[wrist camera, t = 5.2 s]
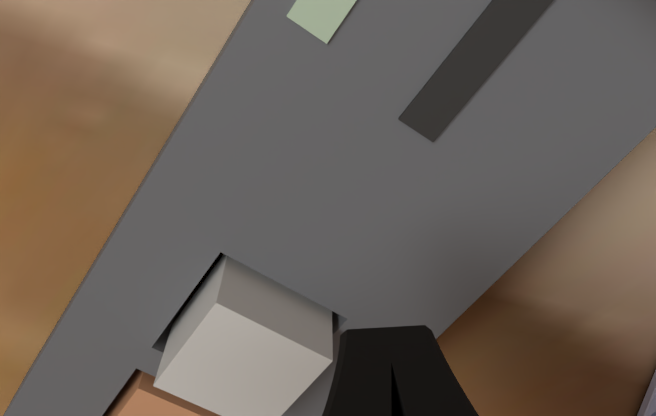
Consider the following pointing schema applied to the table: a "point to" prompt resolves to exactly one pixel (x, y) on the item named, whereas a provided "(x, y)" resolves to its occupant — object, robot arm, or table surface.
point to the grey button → (245, 344)
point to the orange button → (151, 400)
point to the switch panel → (360, 171)
